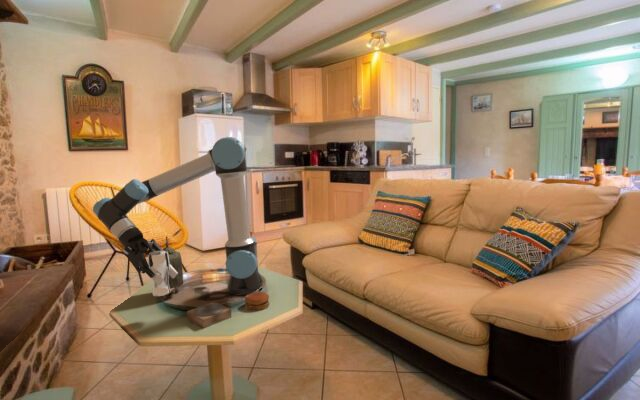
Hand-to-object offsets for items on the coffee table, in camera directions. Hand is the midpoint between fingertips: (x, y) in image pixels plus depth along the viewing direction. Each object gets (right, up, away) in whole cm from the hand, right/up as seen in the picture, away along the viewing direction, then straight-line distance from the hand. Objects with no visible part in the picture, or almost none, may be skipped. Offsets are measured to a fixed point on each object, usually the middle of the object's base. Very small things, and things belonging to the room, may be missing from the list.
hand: (168, 279), depth 128 cm
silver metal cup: (-3, -6, +2) cm, 7 cm away
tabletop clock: (-10, -12, +26) cm, 31 cm away
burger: (+30, -13, +11) cm, 34 cm away
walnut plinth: (+14, -14, +1) cm, 20 cm away
